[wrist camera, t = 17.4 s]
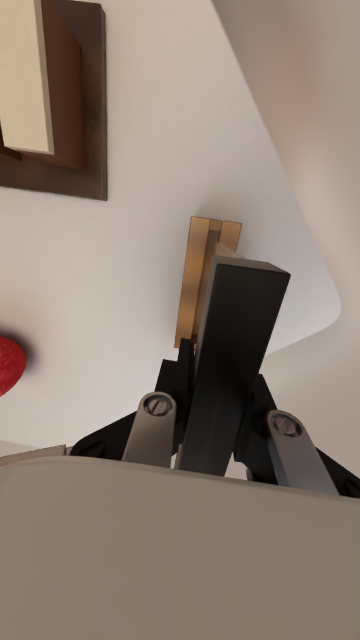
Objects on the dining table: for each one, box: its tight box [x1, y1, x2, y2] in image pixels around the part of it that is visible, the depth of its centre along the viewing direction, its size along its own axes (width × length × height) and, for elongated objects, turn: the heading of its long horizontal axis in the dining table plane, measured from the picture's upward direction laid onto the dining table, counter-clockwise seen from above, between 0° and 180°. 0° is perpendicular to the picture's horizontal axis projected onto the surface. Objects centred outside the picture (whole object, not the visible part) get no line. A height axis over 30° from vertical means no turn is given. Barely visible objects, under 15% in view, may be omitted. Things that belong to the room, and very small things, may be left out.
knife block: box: [174, 217, 242, 351], centre depth 26 cm, size 15×5×3 cm, turn 173°
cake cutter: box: [174, 242, 291, 477], centre depth 13 cm, size 12×2×10 cm, turn 173°
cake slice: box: [0, 0, 85, 170], centre depth 18 cm, size 9×4×6 cm, turn 173°
